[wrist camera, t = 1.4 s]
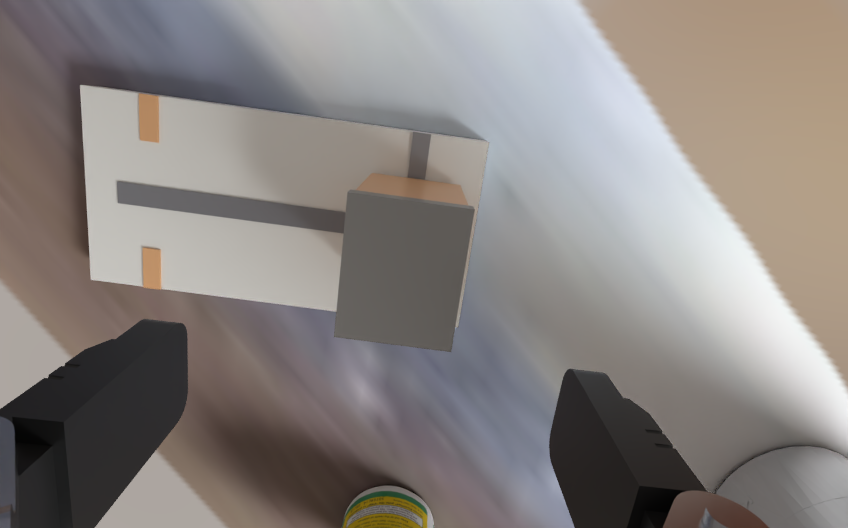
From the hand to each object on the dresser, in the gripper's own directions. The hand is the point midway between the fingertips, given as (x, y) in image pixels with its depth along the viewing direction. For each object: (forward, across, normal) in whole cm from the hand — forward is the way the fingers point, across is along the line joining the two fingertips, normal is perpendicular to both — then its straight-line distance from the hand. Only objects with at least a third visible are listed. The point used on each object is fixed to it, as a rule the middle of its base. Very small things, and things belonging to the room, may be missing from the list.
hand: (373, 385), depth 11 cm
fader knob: (+13, 0, 0) cm, 13 cm away
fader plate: (+15, +6, 0) cm, 16 cm away
